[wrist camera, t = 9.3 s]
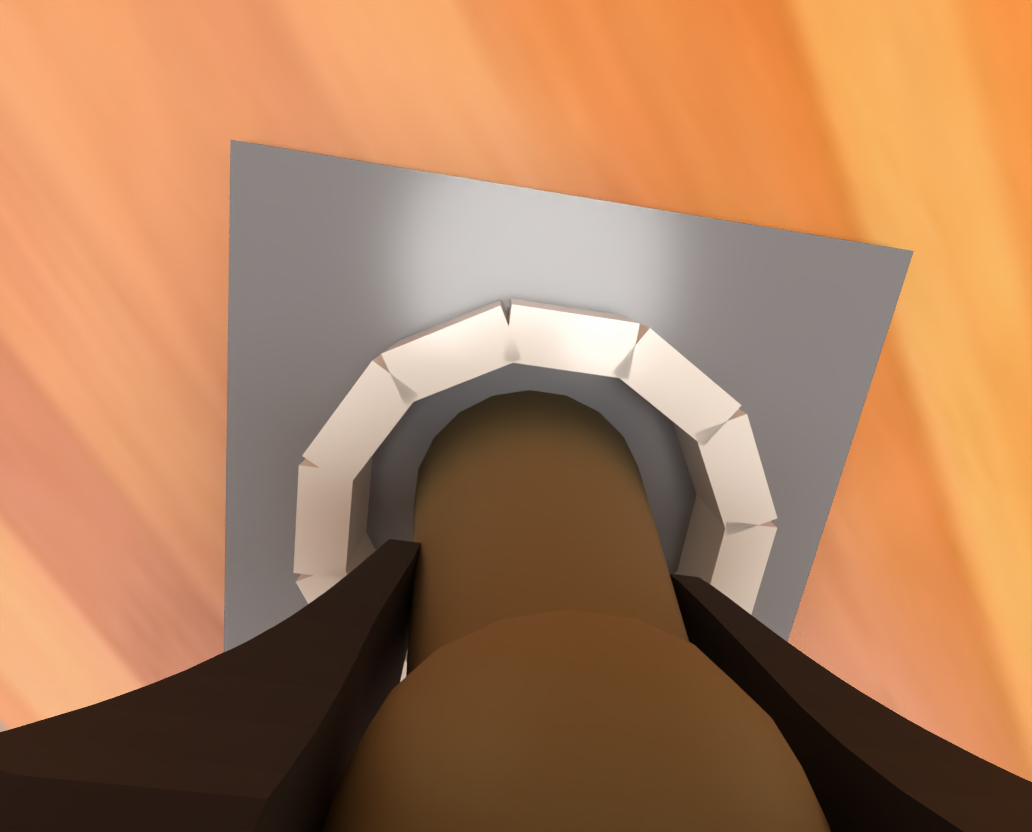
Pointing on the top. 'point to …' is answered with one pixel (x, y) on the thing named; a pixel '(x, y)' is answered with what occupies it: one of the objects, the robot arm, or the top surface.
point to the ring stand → (529, 365)
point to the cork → (556, 656)
